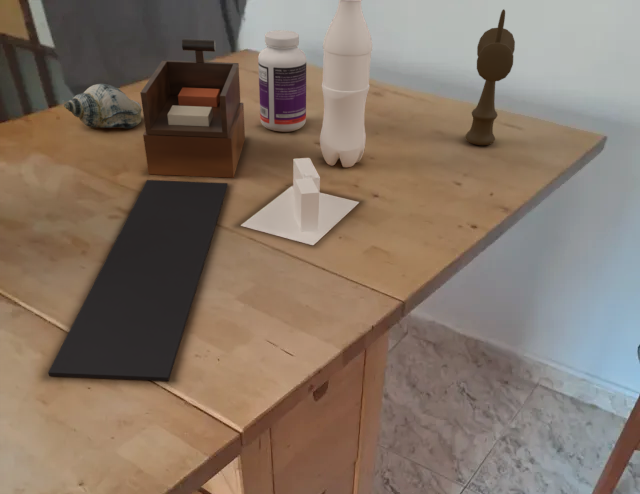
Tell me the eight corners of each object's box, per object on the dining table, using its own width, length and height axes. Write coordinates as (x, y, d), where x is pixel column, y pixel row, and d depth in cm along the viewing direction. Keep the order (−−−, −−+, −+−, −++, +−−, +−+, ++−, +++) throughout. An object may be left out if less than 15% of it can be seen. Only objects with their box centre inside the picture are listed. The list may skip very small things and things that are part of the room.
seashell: (143, 137, 119) (71, 139, 117) (141, 105, 122) (71, 106, 120) (138, 108, 113) (62, 109, 111) (137, 75, 116) (63, 75, 114)
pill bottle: (313, 122, 123) (315, 32, 113) (293, 137, 117) (293, 43, 107) (273, 114, 125) (271, 25, 115) (251, 128, 120) (248, 36, 110)
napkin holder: (290, 185, 103) (290, 147, 99) (359, 201, 100) (362, 162, 96) (239, 226, 93) (237, 185, 89) (314, 245, 90) (315, 204, 86)
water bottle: (317, 152, 113) (323, -28, 96) (361, 152, 113) (373, -26, 96) (321, 170, 107) (326, -17, 90) (366, 170, 108) (380, -16, 91)
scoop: (227, 137, 100) (223, 71, 94) (146, 134, 100) (136, 67, 94) (240, 100, 112) (237, 39, 106) (167, 97, 112) (160, 36, 106)
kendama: (497, 134, 121) (523, 4, 108) (496, 154, 114) (524, 18, 101) (463, 130, 122) (484, 1, 108) (460, 150, 115) (483, 14, 102)
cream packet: (209, 126, 101) (208, 116, 100) (168, 124, 101) (167, 114, 100) (212, 117, 104) (212, 106, 103) (173, 115, 104) (172, 105, 103)
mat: (168, 381, 69) (168, 377, 68) (49, 376, 69) (47, 372, 68) (227, 186, 102) (227, 183, 102) (147, 183, 102) (146, 179, 102)
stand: (233, 177, 104) (231, 138, 100) (148, 174, 104) (142, 134, 100) (245, 139, 116) (243, 102, 112) (168, 136, 116) (164, 99, 112)
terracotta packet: (217, 107, 107) (216, 97, 106) (178, 105, 107) (177, 95, 106) (220, 98, 110) (219, 88, 109) (183, 97, 110) (182, 87, 109)
